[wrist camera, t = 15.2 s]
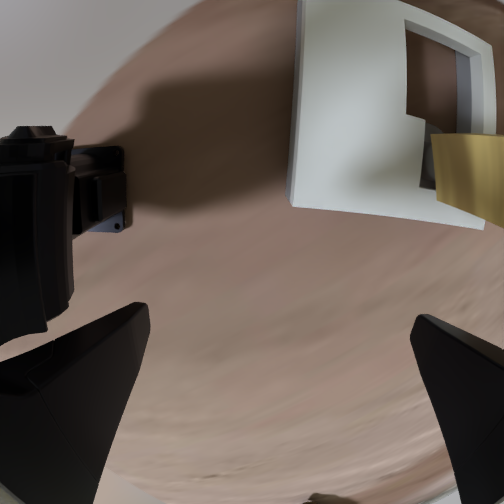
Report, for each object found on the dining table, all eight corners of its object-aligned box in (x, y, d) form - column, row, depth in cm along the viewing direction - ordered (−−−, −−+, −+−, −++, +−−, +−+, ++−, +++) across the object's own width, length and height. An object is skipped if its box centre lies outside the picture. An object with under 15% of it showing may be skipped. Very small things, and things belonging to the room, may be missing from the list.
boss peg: (390, 198, 20) (513, 261, 8) (380, 125, 19) (513, 117, 6) (445, 190, 20) (567, 238, 8) (438, 122, 18) (568, 126, 6)
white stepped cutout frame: (285, 195, 20) (292, 206, 17) (297, 3, 15) (306, -23, 11) (454, 216, 21) (483, 230, 17) (463, 54, 16) (491, 45, 12)
